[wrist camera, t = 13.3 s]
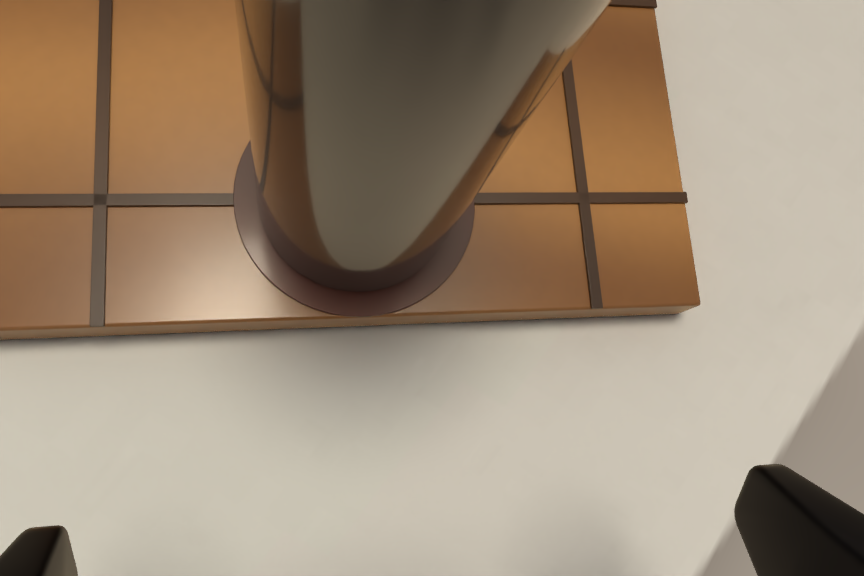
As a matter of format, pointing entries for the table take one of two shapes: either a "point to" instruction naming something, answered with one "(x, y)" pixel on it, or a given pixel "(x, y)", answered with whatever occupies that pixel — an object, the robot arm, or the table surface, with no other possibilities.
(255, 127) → the dark grey cylinder
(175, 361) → the table surface
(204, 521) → the table surface
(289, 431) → the table surface
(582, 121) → the board
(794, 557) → the robot arm
